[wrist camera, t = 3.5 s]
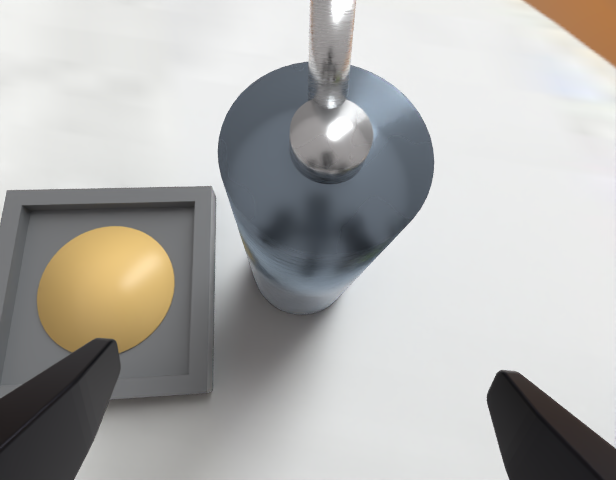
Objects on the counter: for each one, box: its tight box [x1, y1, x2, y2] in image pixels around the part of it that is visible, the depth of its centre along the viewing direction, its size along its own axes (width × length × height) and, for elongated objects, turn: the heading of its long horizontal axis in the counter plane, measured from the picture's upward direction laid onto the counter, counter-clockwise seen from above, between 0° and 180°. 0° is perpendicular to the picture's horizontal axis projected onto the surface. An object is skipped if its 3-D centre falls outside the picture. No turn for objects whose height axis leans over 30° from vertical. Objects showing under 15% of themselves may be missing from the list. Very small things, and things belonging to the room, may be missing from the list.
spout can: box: [218, 0, 434, 315], centre depth 15 cm, size 6×6×16 cm
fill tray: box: [0, 186, 216, 399], centre depth 20 cm, size 11×11×2 cm
